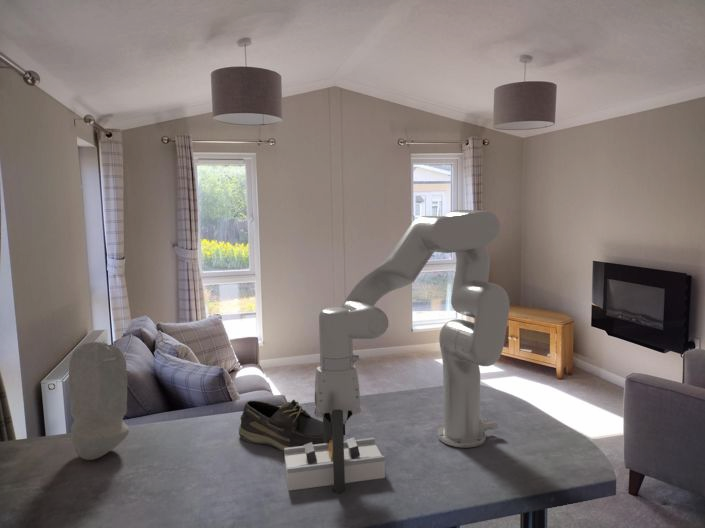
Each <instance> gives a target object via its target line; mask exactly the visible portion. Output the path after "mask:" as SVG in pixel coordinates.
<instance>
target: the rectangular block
mask: <svg viewBox="0 0 705 528" xmlns="http://www.w3.org/2000/svg"><path fill="white" fill-rule="evenodd" d="M328 451H329V454H330V457H331V459H333V440H330V442H329V448H328Z"/></svg>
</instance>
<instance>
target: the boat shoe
mask: <svg viewBox="0 0 705 528" xmlns="http://www.w3.org/2000/svg"><path fill="white" fill-rule="evenodd" d="M299 404H300V403H299V401H296V400H295V399H293V400H291V402H290V401H285V402H283V404H281V405H280V406H278V405H276V404H275V405H274V404H271V403H269V402H264V401H260V400H259V401H258V400H248V401H246V402H245V404H244V407H243V410H242V411H243V412H242V414H241V416H240V425H239V427H238V435H239V437H240V439H242V440H243V441H244V442H248V443H251V444H260V445H268V446H272V447H274V448H277V449H278V450H280V451H282V452H284V448H289V447H298V446H304V445H305V444H308V443H311V442H312V444H313V445H315V444H323V443H324V437H323V420H318V419H316V418H314V417H312V416H311V414H309V412H307V411H306V409H303V406H302V405H299Z"/></svg>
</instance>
